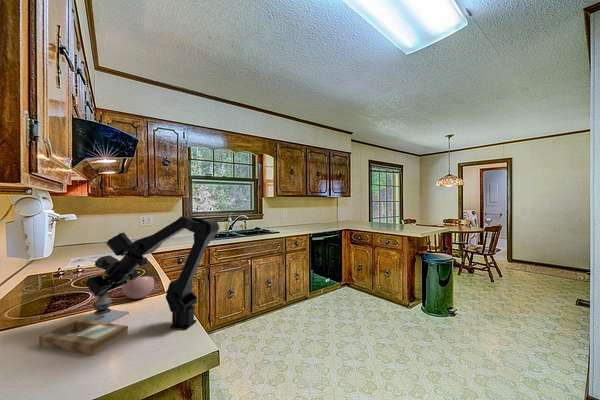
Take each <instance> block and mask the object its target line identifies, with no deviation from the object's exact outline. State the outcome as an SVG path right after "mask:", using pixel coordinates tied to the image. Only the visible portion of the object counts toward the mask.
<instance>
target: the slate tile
mask: <svg viewBox="0 0 600 400" xmlns="http://www.w3.org/2000/svg"><path fill="white" fill-rule="evenodd" d="M93 313H94V312H93ZM93 313H90V314H88V315H85V316H84V317H80V319H82V320H90V321H97V322H104V323H111V324H112V323H113V322H114V321H115V322H116V321H117V320H118V319H121V318H123V317H125V316H127V315H128V314H130V311H126V310H119V309H118V310H117V309H111V311H110V312H108V313H106V314H101V315H94V314H93Z"/></svg>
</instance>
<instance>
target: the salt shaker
mask: <svg viewBox="0 0 600 400" xmlns="http://www.w3.org/2000/svg"><path fill="white" fill-rule="evenodd" d="M109 292H110V291H107V292H105V293H102V294H100V295H98V296H97V299H96V301H94V302H93V303H92V306H93V309H94V310H95V311H94V312H93V314H94V315H101V314H106V313H108V312H110V311H111V310H112V309H111V308H109V307H111V305H112V302H113V300H112V299H111V298H110V299H109V296H108V293H109Z"/></svg>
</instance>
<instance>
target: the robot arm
mask: <svg viewBox="0 0 600 400" xmlns="http://www.w3.org/2000/svg"><path fill="white" fill-rule="evenodd" d="M185 229H186V230H187V231H189V232H192V233H193V244H192V247H191V248H190V250H189V253H188V256H187V258H186V259H185V262H184V265H183V267H182V269H181V272H180V274H179V277H178V278H175V280H172V281H171V282H169V284H168V288H167V290H166V291H165V293H164V294H165V300H166V302H167V304H168V308H169V311H170V312H171V323H172V324H171V325H169V328H172V329H179V330H187V329H189V328H190V327H191V326H193V325H194V324H195V323H197V319H195V306H193V305H195V304H197V301H198V297H197V296H196V295H195V293H194V292H193V286H194V284H193V279H194V277H195V274H196V272H197V271H198V268H199V265H200V263H201V260H202V259H203V256H204V254H205V251H206V250H207V247H208V245H209V244H210V243H211V242H212V241H213V240H214V238H215V237H216V236H217V234H218V232H219V231H220V225H219V222H217V220H215V219H211V218H210V219H204V218H199V217H194V216H190V215H185V216H179V217H178V218H177V219H176V220H175V221H173V222H171V223H169V224H168V225H166V226H165V227H163V228H162V229H160V230H158V231H156V232H155V233H153V234H151V235H149V236H145V237H141V238H139V239H136V240H134V241H132V240H131V239H130V238H129V237H128V236H127V234H126V233H125V232H119V233H118V234H117V235H115V236H113V237H112V238H110V239H108V240H107V241H106V242H105V243H106V246H107V247H108V248H109V249H110V250H111V251H112V252H113V253H114V255H115V256H117V257H119V256H121V257H122V258H121V259H118V258H116V257H114V256H112V255H110V254H109V255H103V256H101V257H98V258H97V259H96V260H95V261H94V266H95V267H96V268H98V269H102V270H104V272H103V273H104V274H105V276H102V275H101V274H95V275H94V276H90V277H88V278H87V279H85V281H84V284H85V285H86V286H87V288H88V289H89V290H90V291H91V292H92V294H93V296H94V297H98V295H100V294H102V293H105V292H107V291H109V292H110V291H113V290H114V289H117V288H119V287H121V286H123V284H126V283H127V281H126V280H130V281H132V280H134V279H136V278H137V277H139V274H138V272H139V271H138V270H136V268H137V267H138V266H139V267H142V266H145V265H148V257H147V256H146V255H150V254H152V253H153V254H154V252H156V251H157V250H158V249H159V248H160V247H161V246H162V244H163V243H164V242H167V240H169V239H171V238H172V237H174V236H176V235H177V234H179V233H181V232H182V231H184V230H185ZM145 256H146V257H145ZM128 276H129V277H130V278H129V279H128Z"/></svg>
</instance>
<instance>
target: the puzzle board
mask: <svg viewBox="0 0 600 400" xmlns="http://www.w3.org/2000/svg"><path fill="white" fill-rule="evenodd" d="M76 331H78V332H76ZM73 332H76V333H75V334H72V335H71V336H70V335H69V334H71V333H73ZM128 335H129V326H128V325H125V324H117V323H112V322H111V323H104V322H97V321H90V320H82V319H81V318H78V319H76V320H74V321H70V322H69V323H66V324H64V325H62V326H59V327H57V328H55V329H52V330H50V331H47V332H45V333H43V334H40V335H39V337H38V338H39V340H38V341H39V343H38V347H44V348H50V349H57V350H61V351H62V350H63V351H65V352H72V353H79V354H84V355H91V356H94V355H96V354H98V353H100V352H101V351H103V350H106V349H107V348H109V347H110V346H112V345H114V343H116V342H119V341H121V340H122V339H123V338H126V337H127V336H128Z"/></svg>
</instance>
